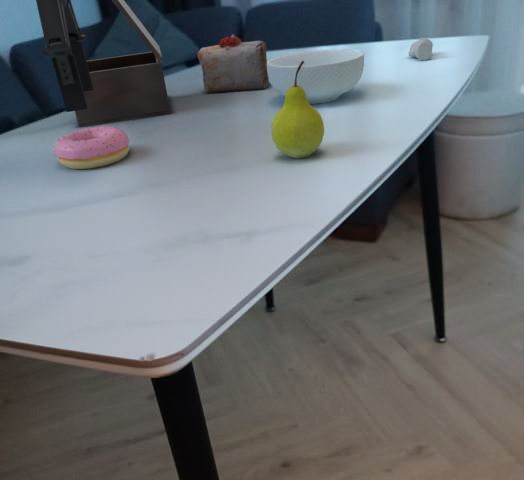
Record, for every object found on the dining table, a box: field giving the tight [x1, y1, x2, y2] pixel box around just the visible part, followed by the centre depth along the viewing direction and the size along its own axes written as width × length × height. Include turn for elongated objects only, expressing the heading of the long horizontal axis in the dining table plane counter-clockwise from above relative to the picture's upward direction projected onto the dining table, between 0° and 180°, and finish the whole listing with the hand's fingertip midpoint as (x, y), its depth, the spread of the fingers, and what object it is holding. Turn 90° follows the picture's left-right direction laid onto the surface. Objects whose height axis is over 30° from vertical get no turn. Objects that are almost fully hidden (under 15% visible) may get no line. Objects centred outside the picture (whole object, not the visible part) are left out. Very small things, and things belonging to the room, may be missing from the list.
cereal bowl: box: [267, 48, 365, 105], centre depth 105 cm, size 17×17×7 cm
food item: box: [197, 33, 270, 94], centre depth 118 cm, size 14×8×10 cm, turn 81°
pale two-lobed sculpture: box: [408, 37, 434, 62], centre depth 127 cm, size 4×8×5 cm
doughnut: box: [53, 125, 130, 170], centre depth 88 cm, size 11×11×4 cm
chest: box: [74, 51, 172, 128], centre depth 112 cm, size 17×16×9 cm
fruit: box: [270, 61, 325, 159], centre depth 77 cm, size 7×7×12 cm
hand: (81, 100), depth 84 cm, fingers open, 13 cm apart
